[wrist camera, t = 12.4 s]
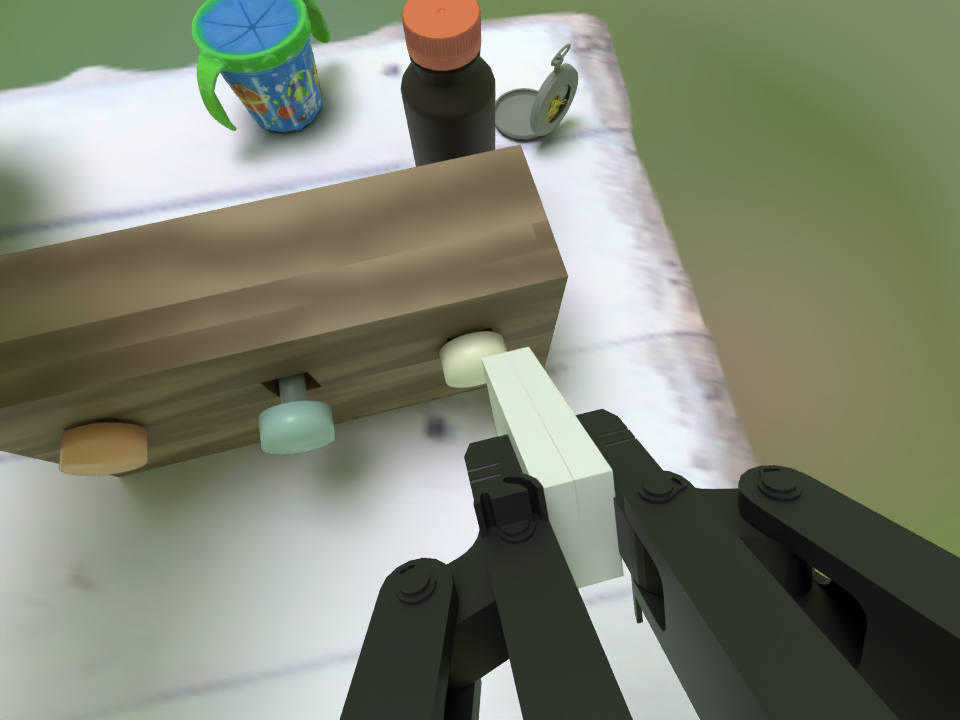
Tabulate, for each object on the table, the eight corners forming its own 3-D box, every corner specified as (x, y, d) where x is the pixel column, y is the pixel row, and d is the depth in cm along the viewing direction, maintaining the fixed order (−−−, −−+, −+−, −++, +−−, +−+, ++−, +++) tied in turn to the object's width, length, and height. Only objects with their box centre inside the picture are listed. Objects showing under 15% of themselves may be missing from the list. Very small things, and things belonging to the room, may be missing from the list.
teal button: (343, 442, 34) (323, 426, 30) (278, 458, 34) (248, 444, 30) (332, 368, 36) (311, 343, 32) (270, 382, 36) (241, 360, 32)
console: (543, 372, 44) (567, 276, 29) (118, 476, 41) (-93, 430, 27) (512, 275, 47) (520, 144, 33) (119, 365, 45) (-65, 269, 30)
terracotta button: (162, 462, 34) (116, 449, 30) (94, 479, 34) (39, 468, 30) (160, 386, 36) (118, 364, 32) (97, 401, 36) (45, 381, 32)
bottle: (412, 213, 50) (364, 10, 32) (464, 176, 52) (447, -39, 33) (456, 257, 48) (433, 67, 30) (509, 216, 50) (518, 12, 31)
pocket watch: (496, 93, 56) (496, 0, 47) (573, 99, 55) (589, 6, 46) (487, 151, 53) (485, 64, 44) (568, 158, 52) (584, 71, 43)
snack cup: (307, 49, 59) (271, -49, 50) (373, 89, 57) (348, -6, 47) (203, 130, 55) (143, 41, 46) (269, 178, 52) (220, 94, 43)
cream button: (510, 377, 35) (512, 353, 31) (448, 392, 35) (442, 370, 31) (490, 309, 37) (490, 278, 33) (432, 323, 37) (424, 293, 33)
